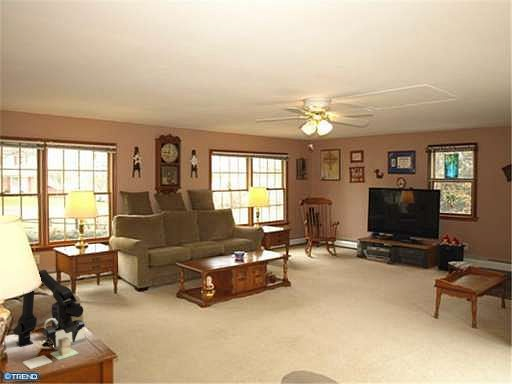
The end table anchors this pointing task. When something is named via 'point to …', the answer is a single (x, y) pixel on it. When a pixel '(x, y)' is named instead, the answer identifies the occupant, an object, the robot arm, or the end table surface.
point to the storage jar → (54, 314)
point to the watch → (53, 321)
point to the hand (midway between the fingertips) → (64, 344)
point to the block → (64, 346)
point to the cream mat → (37, 362)
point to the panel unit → (78, 339)
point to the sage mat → (59, 356)
